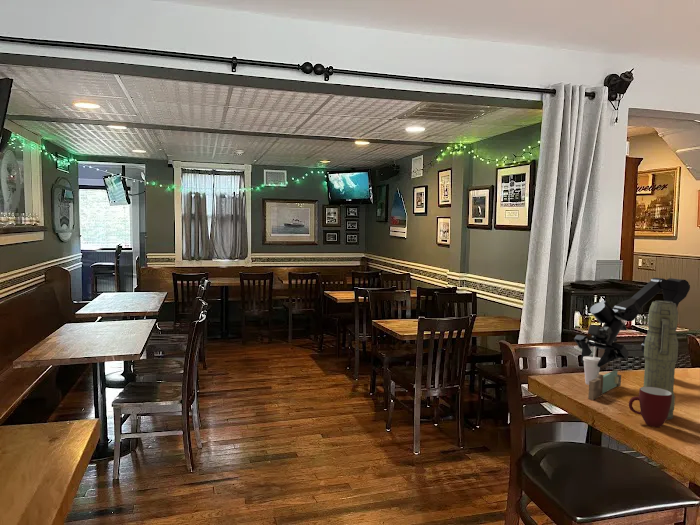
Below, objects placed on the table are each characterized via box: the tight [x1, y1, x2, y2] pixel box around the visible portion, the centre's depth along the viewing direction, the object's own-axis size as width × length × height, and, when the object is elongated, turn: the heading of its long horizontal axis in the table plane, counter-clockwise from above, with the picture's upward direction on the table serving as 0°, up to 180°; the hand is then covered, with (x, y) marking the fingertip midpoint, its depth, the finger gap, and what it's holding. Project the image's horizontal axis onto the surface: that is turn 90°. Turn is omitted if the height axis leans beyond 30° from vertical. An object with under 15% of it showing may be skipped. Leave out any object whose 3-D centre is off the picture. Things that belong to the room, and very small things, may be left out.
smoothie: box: [583, 347, 601, 386], centre depth 185 cm, size 6×6×14 cm
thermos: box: [642, 299, 679, 420], centre depth 154 cm, size 9×12×35 cm
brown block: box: [588, 373, 622, 401], centre depth 176 cm, size 24×2×7 cm, turn 133°
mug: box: [628, 386, 672, 428], centre depth 147 cm, size 11×8×10 cm
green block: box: [602, 369, 619, 395], centre depth 178 cm, size 13×2×6 cm, turn 133°
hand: (589, 364), depth 184 cm, fingers closed on smoothie, 6 cm apart
